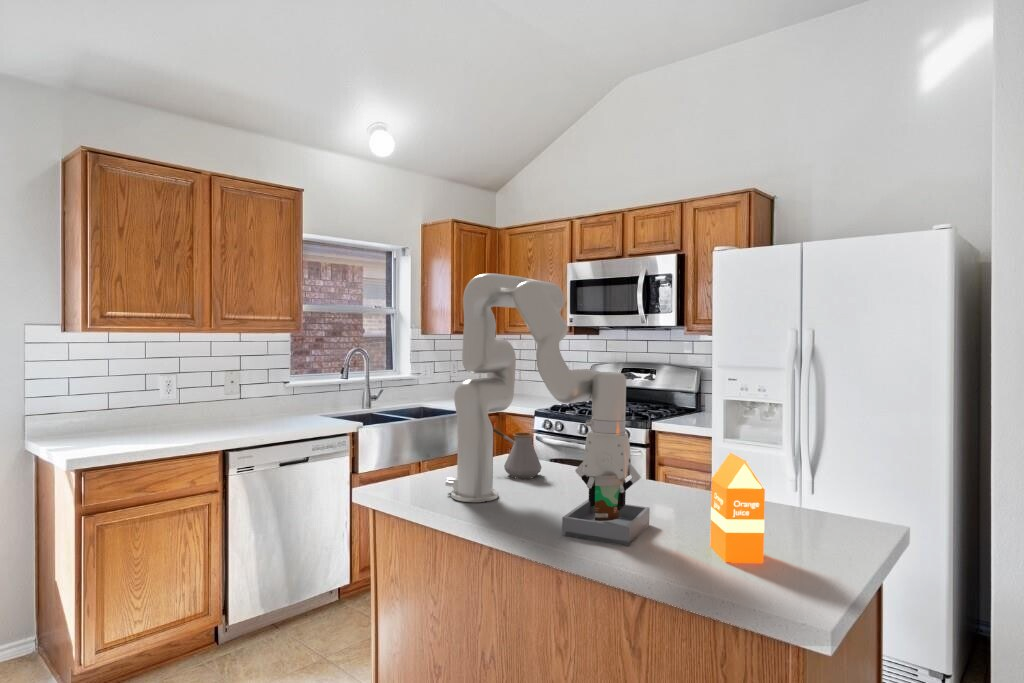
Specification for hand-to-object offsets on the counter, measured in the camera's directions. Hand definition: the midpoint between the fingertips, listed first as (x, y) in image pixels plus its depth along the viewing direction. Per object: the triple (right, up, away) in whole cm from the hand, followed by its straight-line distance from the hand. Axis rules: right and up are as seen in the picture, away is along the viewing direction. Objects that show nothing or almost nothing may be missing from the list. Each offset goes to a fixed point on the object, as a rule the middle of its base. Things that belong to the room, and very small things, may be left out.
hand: (606, 506), depth 143 cm
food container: (+1, -2, -1) cm, 3 cm away
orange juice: (+24, -6, -15) cm, 29 cm away
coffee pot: (-22, -4, +54) cm, 59 cm away
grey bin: (0, -5, 0) cm, 5 cm away
